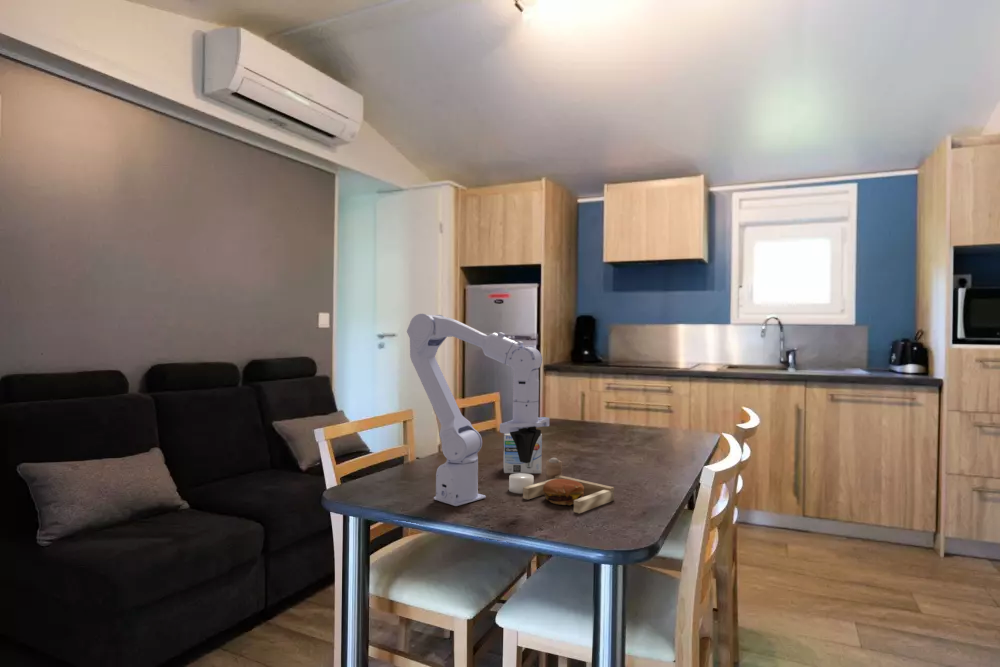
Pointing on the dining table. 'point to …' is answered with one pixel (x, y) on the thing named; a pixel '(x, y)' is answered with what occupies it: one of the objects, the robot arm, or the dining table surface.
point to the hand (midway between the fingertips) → (525, 462)
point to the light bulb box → (512, 457)
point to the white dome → (520, 482)
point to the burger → (563, 491)
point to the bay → (592, 499)
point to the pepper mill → (553, 468)
